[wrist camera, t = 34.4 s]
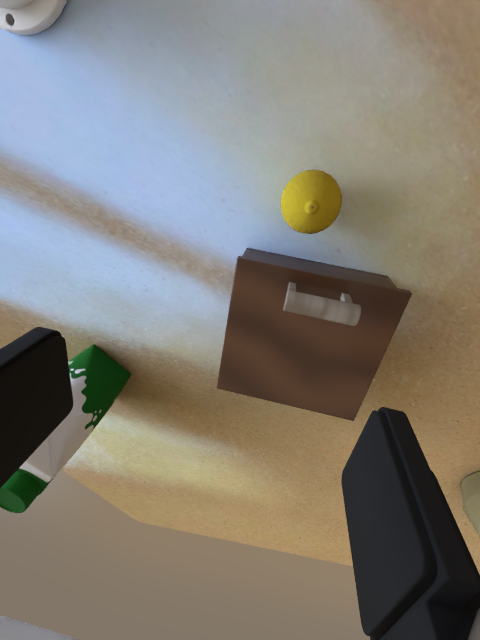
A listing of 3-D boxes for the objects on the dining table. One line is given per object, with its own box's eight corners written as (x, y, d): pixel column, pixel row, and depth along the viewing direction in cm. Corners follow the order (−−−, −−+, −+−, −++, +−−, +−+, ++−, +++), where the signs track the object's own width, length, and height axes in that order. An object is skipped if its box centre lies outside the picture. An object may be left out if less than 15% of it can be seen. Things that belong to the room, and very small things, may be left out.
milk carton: (111, 401, 51) (12, 526, 33) (65, 367, 49) (-65, 479, 31) (139, 374, 47) (44, 498, 29) (91, 335, 45) (-40, 443, 28)
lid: (238, 255, 29) (226, 273, 24) (409, 290, 28) (433, 316, 23) (218, 384, 37) (205, 417, 32) (352, 416, 36) (361, 456, 31)
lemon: (348, 192, 31) (362, 200, 24) (310, 236, 34) (314, 254, 27) (306, 157, 30) (309, 154, 23) (271, 204, 33) (265, 214, 26)
